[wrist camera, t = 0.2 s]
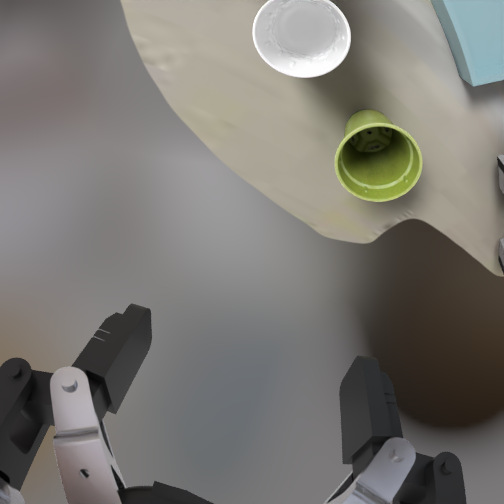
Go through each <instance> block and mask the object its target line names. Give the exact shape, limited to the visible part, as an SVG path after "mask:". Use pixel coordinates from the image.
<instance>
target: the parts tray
mask: <svg viewBox="0 0 504 504" xmlns="http://www.w3.org/2000/svg"><path fill="white" fill-rule="evenodd" d="M431 2H432V4H433V7H434V9H435V11H436V13H437V15H438V18H439V20H440V23H441V25H442V27H443V30H444V32H445V35H446V38H447V40H448V43H449V46H450V48H451V51H452V54H453V57H454V60H455V63H456V66H457V69H458V73H459V76H460V77H461V78H462V79H464V80H465V81H466V82H468V83H469V84H470V85H472V86H473V87H474V86H478V85H482V84H487V83H491V82H496V81H501V80H504V0H431Z"/></svg>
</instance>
